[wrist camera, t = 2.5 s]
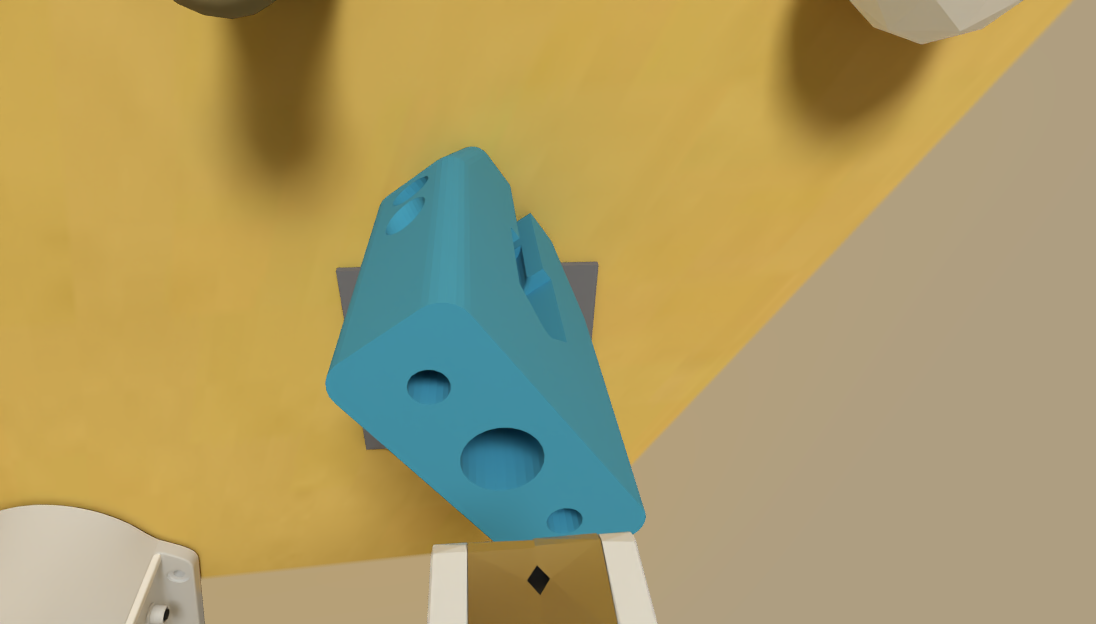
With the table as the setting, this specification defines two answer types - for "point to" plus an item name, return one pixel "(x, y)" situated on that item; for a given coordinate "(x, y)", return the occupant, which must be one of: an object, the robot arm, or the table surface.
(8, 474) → the table surface
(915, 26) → the white faceted ball
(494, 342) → the block
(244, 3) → the cork
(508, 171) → the table surface
